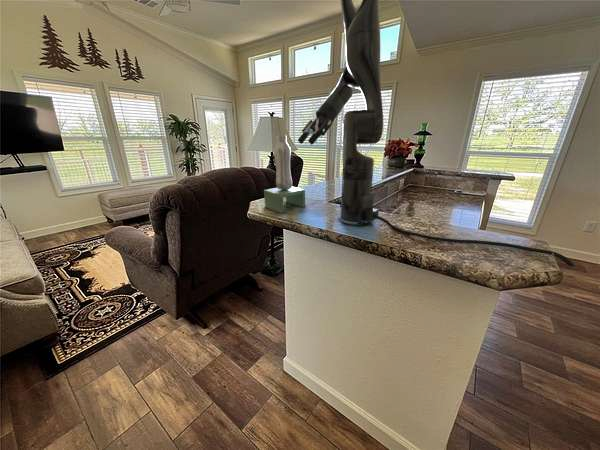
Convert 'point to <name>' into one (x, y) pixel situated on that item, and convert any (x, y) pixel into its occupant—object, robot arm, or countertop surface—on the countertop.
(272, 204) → the mint green box
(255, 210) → the countertop surface
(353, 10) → the robot arm
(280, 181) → the plastic bottle
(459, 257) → the countertop surface
